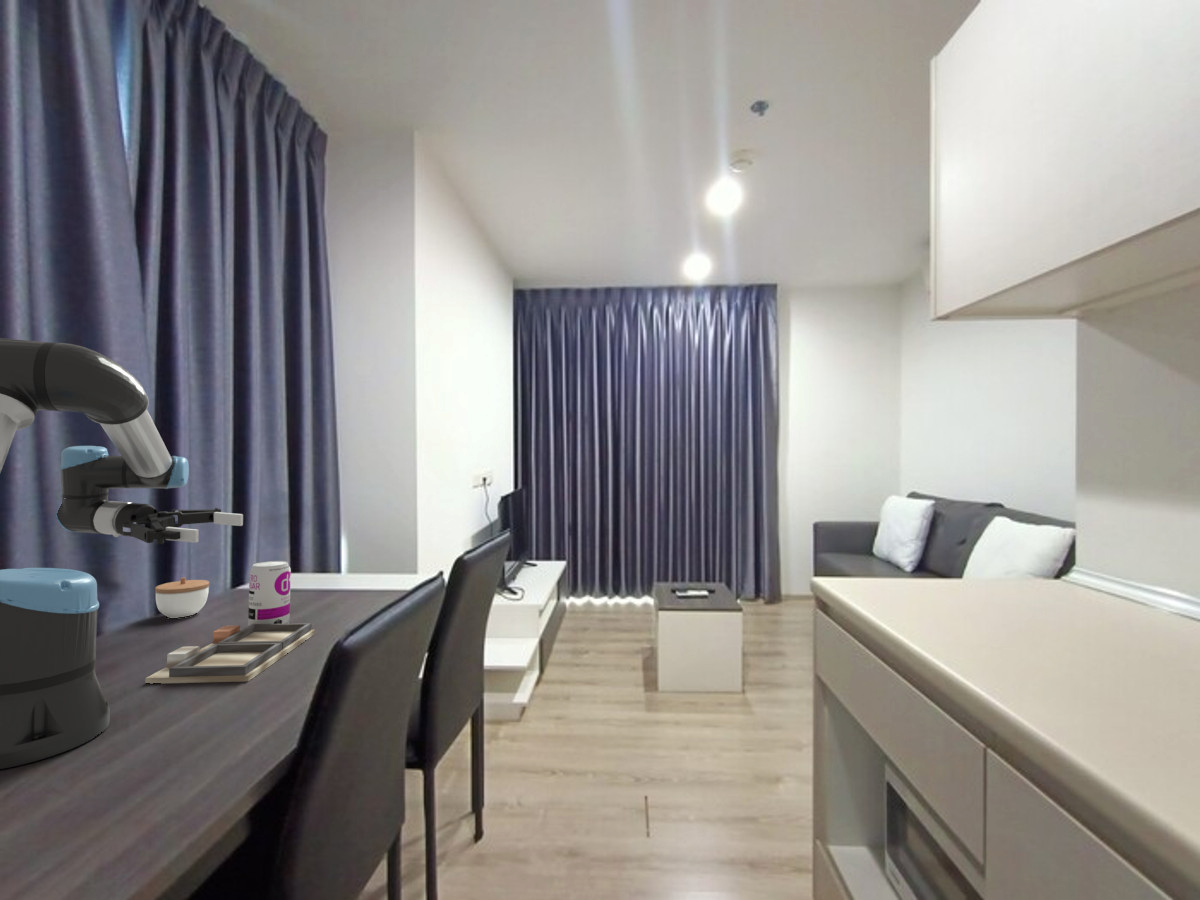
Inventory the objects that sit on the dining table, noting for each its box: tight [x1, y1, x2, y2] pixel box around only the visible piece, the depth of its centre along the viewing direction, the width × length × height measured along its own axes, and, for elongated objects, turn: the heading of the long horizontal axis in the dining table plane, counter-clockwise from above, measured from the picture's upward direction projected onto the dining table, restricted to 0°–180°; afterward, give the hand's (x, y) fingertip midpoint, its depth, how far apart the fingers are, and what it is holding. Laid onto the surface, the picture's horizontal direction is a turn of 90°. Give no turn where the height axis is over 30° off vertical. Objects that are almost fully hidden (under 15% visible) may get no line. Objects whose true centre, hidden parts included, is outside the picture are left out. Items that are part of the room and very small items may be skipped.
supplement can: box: [247, 560, 292, 627], centre depth 123 cm, size 8×8×15 cm
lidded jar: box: [154, 577, 210, 619], centre depth 132 cm, size 11×11×9 cm
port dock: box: [144, 622, 316, 685], centre depth 105 cm, size 26×17×4 cm, turn 5°
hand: (221, 527), depth 119 cm, fingers open, 13 cm apart
